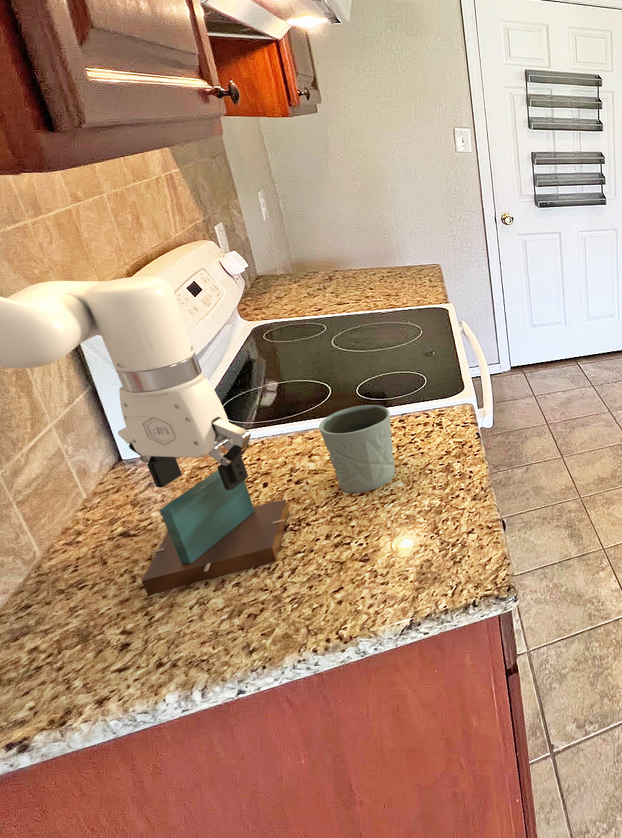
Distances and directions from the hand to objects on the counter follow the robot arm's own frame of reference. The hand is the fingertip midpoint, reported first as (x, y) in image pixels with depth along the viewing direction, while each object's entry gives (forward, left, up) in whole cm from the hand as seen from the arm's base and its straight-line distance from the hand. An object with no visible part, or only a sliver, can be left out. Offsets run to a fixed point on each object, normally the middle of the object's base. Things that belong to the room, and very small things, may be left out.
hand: (203, 482), depth 80 cm
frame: (0, 0, -9) cm, 9 cm away
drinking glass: (+18, +11, -12) cm, 24 cm away
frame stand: (0, 0, -12) cm, 12 cm away
